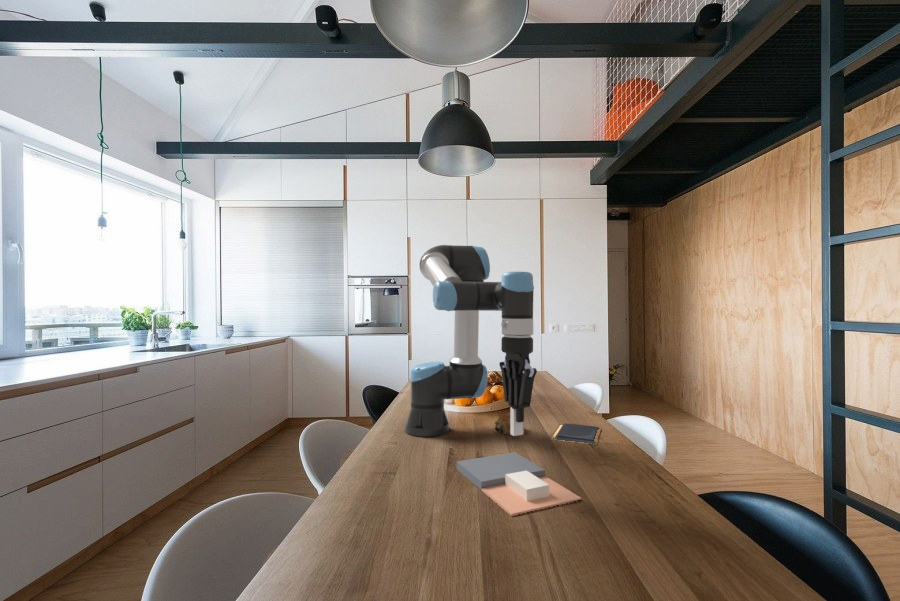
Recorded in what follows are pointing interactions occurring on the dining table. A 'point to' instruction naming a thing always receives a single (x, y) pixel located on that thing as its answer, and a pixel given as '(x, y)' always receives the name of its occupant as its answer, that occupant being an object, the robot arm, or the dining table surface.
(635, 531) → the dining table surface
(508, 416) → the bread roll
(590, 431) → the dark grey book
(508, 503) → the mat
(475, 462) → the grey slab
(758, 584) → the dining table surface
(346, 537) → the dining table surface
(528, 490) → the tile
